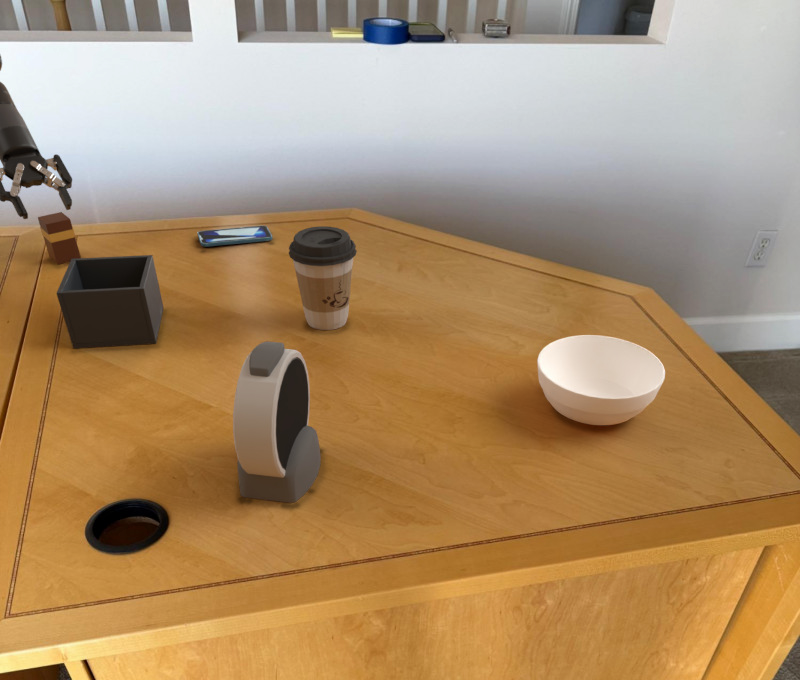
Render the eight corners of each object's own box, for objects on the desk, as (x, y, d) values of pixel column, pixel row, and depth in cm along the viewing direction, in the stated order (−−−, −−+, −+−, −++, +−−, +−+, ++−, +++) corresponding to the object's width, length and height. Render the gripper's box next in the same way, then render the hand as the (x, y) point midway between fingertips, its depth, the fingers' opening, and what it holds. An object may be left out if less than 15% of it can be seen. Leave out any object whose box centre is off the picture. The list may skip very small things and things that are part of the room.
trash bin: (73, 348, 129) (56, 293, 123) (86, 311, 139) (71, 258, 133) (156, 343, 131) (143, 288, 124) (163, 307, 141) (152, 254, 134)
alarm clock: (301, 513, 98) (288, 389, 86) (224, 504, 99) (201, 380, 87) (332, 441, 110) (324, 322, 98) (263, 433, 111) (247, 315, 99)
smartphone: (273, 237, 163) (201, 244, 160) (273, 241, 164) (202, 248, 160) (266, 224, 169) (196, 231, 165) (266, 229, 169) (197, 235, 165)
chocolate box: (57, 264, 154) (45, 224, 149) (49, 256, 157) (37, 217, 152) (81, 258, 157) (70, 218, 151) (72, 251, 159) (61, 211, 154)
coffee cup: (320, 342, 131) (314, 256, 121) (282, 319, 137) (273, 235, 127) (372, 322, 137) (370, 237, 127) (332, 300, 143) (328, 218, 133)
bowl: (509, 390, 120) (514, 348, 115) (607, 367, 126) (616, 326, 121) (573, 454, 108) (582, 410, 103) (679, 425, 113) (692, 382, 108)
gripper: (-29, 130, 146) (11, 210, 147) (46, 118, 152) (84, 194, 153) (-27, 154, 152) (11, 230, 153) (45, 141, 159) (81, 214, 160)
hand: (47, 212), depth 153 cm, fingers open, 8 cm apart
